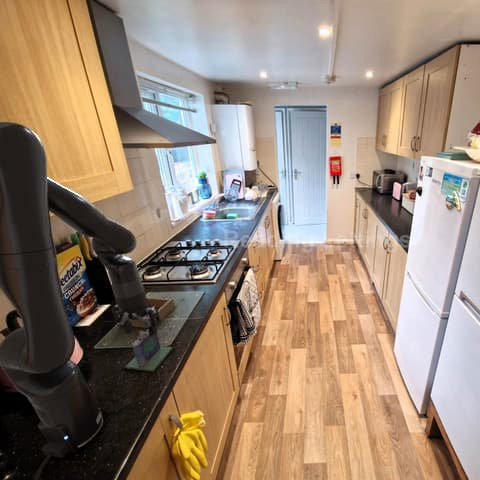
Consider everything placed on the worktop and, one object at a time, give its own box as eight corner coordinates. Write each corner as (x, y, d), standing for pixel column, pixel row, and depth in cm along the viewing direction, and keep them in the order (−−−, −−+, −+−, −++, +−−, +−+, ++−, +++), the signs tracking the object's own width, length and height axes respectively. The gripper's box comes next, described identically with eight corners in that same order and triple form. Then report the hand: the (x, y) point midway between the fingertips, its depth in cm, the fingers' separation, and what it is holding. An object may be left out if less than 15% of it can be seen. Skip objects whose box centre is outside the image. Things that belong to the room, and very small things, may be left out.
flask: (143, 367, 87) (135, 342, 83) (135, 366, 87) (126, 341, 83) (162, 346, 95) (156, 322, 91) (155, 346, 96) (148, 322, 92)
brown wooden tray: (152, 328, 106) (150, 319, 104) (120, 325, 107) (117, 316, 106) (175, 307, 119) (173, 298, 117) (146, 304, 120) (143, 296, 119)
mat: (153, 371, 86) (152, 369, 86) (125, 368, 88) (125, 366, 87) (172, 348, 96) (172, 347, 95) (147, 346, 97) (147, 344, 96)
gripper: (97, 296, 79) (112, 339, 85) (141, 299, 77) (153, 343, 83) (118, 283, 86) (131, 324, 92) (158, 286, 84) (169, 327, 90)
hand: (141, 333), depth 87 cm, fingers open, 8 cm apart
